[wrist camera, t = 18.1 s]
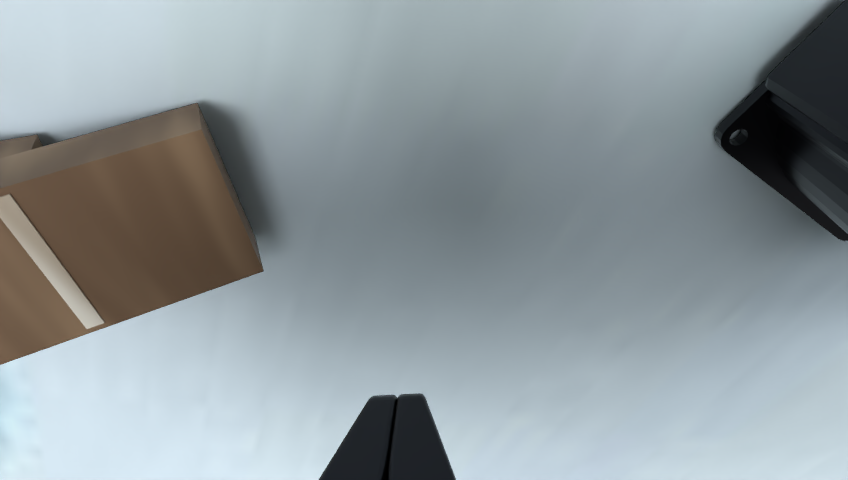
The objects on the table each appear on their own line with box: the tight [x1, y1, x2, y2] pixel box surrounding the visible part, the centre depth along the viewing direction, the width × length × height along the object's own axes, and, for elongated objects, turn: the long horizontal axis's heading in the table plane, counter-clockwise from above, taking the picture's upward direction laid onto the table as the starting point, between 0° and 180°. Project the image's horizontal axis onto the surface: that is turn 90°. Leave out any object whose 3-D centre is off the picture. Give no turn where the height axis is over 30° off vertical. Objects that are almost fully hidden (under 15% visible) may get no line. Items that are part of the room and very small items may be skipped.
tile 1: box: [0, 103, 263, 365], centre depth 16 cm, size 2×5×10 cm
